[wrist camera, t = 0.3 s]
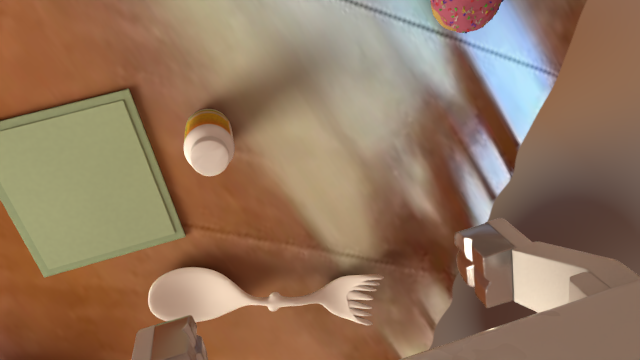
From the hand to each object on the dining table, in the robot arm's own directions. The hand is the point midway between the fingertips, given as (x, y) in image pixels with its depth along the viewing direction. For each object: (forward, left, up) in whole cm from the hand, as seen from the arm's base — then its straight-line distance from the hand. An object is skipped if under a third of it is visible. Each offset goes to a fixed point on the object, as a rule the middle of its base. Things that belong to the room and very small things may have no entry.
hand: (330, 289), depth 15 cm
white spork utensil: (+33, -5, -46) cm, 57 cm away
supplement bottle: (+8, -6, -46) cm, 47 cm away
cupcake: (-1, +26, -46) cm, 53 cm away
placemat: (+11, -22, -46) cm, 52 cm away
